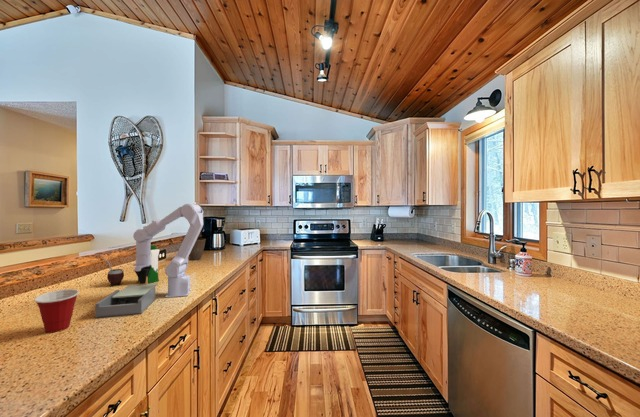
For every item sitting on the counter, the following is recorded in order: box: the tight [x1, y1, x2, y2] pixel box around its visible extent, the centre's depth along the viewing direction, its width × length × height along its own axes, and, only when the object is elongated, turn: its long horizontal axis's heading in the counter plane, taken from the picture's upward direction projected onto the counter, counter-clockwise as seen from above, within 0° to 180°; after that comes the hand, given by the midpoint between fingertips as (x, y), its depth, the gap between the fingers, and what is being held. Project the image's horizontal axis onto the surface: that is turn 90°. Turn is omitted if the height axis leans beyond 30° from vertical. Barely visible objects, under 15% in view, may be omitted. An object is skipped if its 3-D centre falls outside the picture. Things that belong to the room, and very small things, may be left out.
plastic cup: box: [34, 288, 80, 334], centre depth 89 cm, size 11×11×12 cm
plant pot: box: [188, 238, 207, 261], centre depth 210 cm, size 15×15×16 cm
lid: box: [112, 277, 159, 298], centre depth 117 cm, size 12×17×4 cm
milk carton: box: [137, 244, 160, 284], centre depth 146 cm, size 9×9×20 cm
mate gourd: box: [101, 258, 125, 288], centre depth 139 cm, size 8×8×15 cm
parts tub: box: [94, 287, 156, 319], centre depth 108 cm, size 15×17×5 cm
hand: (143, 283), depth 124 cm, fingers closed on lid
